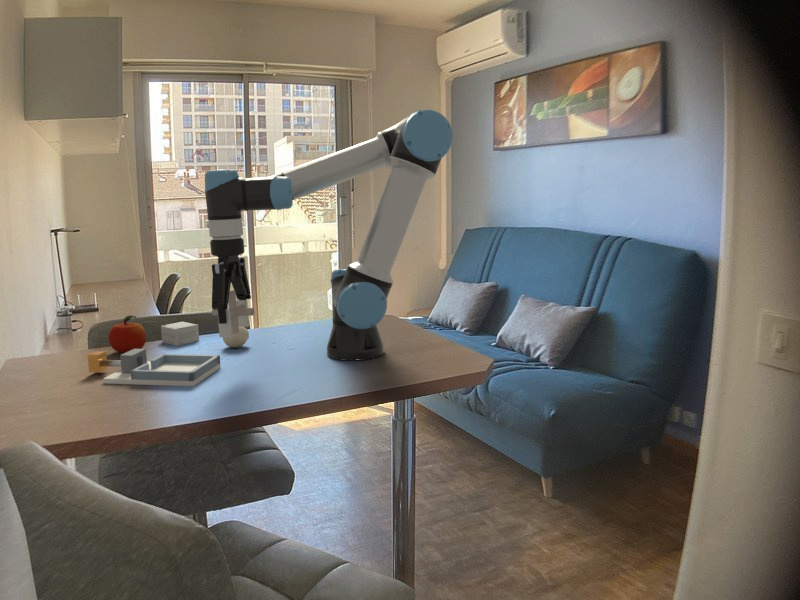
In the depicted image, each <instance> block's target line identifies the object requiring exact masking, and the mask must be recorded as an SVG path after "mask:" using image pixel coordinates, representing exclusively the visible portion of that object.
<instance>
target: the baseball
mask: <svg viewBox="0 0 800 600" xmlns="http://www.w3.org/2000/svg"><path fill="white" fill-rule="evenodd" d="M249 338H250V333H249V330H248V329H247V328H246V326H240V327H239V333H235V334H232V337H222V340H223V343H224V344H225V345H226V346H228V347H229V348H235V349H237V348H240V347H243V346H244V345H245V344H246V343H247V341H248V340H249Z"/></svg>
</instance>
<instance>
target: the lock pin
mask: <svg viewBox="0 0 800 600" xmlns="http://www.w3.org/2000/svg"><path fill="white" fill-rule="evenodd" d="M87 362H88V363H87V364H88V371H89V372H88V373H97V374H98V373H99V374H101V373H102V372H105V371H106V370H108V369H109V367H110V368H121V359H119V360H118V359H114V360H113V359H108V357H107V352H106V351H101V350H100V351H97V350H96V351H93V352H91V353H88V354H87Z"/></svg>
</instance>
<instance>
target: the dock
mask: <svg viewBox="0 0 800 600" xmlns="http://www.w3.org/2000/svg"><path fill="white" fill-rule="evenodd" d="M119 356H120V359H119V360H121V367H120V369H119V370H117V371H115V372H113V373H111V374H109V375H107V376H106V377H103V378H102V381H103V384H108V385H109V384H111V385H138V386H139V385H143V386H147V385H149V386H170V387H171V386H172V387H174V386H176V387H178V386H179V387H194V386H196V385H198V384H199V383H200V382H203V380H206V378H208V377H209V376H211V375H212V374H213V373H215V372H217V371H218V370H219V369H221V367H222V366H221V355H219V354H214V355H213V354H186V353H185V354H179V353H178V354H175V353H173V354H172V353H162V354H161V355H158V356H156V357H154V358H153V359H151V360H147V349H146V348H142V349H133V350H130V351H128V352H126V353H124V354H122V353H121V354H120V355H119Z"/></svg>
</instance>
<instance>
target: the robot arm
mask: <svg viewBox="0 0 800 600" xmlns="http://www.w3.org/2000/svg"><path fill="white" fill-rule="evenodd" d="M453 138H454V137H453V129H452V127H451V124H450V122H449V121H448V119H447V117H445V116H444V115H443V114H442V113H440V112H439V111H436V110H433V109H418V110H416V111H413V112H412V113H411V114H409V115H408V116H406V117H405V118H404V119H402V120H401V121H399V122H398V123H396V124H394V125H392V126H390V127H389V128H387V129H385V130H380V131H379V132H377V134H376V136H375V137H374V138H371V139H368V140H367V141H364V142H363V141H362V142H360V143H358V144H355V145H353V146H350V147H347V148H345V149H342V150H338V151H336V152H333V153H330V154H328V155H325V156H322V157H319V158H316V159H313V160H311V161H308V162H305V163H303V164H300V165H297V166H294V167H291V168H289V169H286V170H283V171H282V172H278V173H275V174H273V175H270V176H261V177H259V176H257V177H240V175H239V173H238V170H236V169H212V170H211V169H210V170H207V171H206V172H205V173H204V196H205V203H206V211H207V212H206V213H207V221H208V224H207V225H206V226H207V228H208V230H209V233H208V234H209V237H211V238H212V239H210V241H209V244H210V253H211V255H212V256H214V257H217V258H218V259H217V263H213V264H212V265H211V272H212V273H211V274H212V286H211V288H212V290H211V310H212V309H213V310H217V314H218V315H217V323H218V330H219V331H218V332H219V333H218V334H219V338H223V337H232V328H231V317H230V309H227V308H229V304H228V301H229V293H230V291H231V285H232V288H233V291H235V293H236V304H237V306H239V305H242V304H243V305H245V306H246V308H249V307H248V306H249V305H248V300H251V298H252V295H251V289H250V283H249V280H248V279H249V278H248V274H247V269H246V259H245V257H242V256H241V257H239V255H242V254H244V253H245V242H244V241H245V239H244V238H243V237H242V236H243V235H244V228H243V219H242V212H248V211H272V210H277V211H280V210H287V209H291V208H292V207H293V205H294V204H293V202H294V201H295V200H297V199H300V198H303V197H306V196H308V195H311V194H314V193H316V192H319V191H323V190H325V189H328V188H331V187H333V186H336V185H339V184H341V183H344V182H347V181H349V180H353V179H355V178H358V177H361V176H363V175H366V174H369V173H371V172H374V171H376V170H380V169H383V168H388V169H390V174H389V176H388V179H387V181H386V184H385V187H384V189H383V191H382V195H381V196H380V200H379V203H378V205H377V208H376V209H375V212H374V215H373V217H372V221H371V224H370V225H369V228H368V231H367V234H366V235H365V239H364V241H363V244H362V247H361V250H360V252H359V254H358V257H357V260H355V261H354V262H351V263H350V264H347V265H348V266H347V268H346V269H345V268H343V269H341V268H340V269H333V270H332V271H331V278H330V284H331V305H332V306H331V307H332V308H331V309H332V312H331V313H332V328H331V332H330V334H329V338H328V342H327V345H326V354H327V356H328V357H329V356H330V357H329V358H331V357H333V358H332V359H334V358H337V359H336V360H339V359H345V360H344V361H357V360H356V359H366V360H369V359H368V358H372V357H376V356H378V357H380V356H379V355H381V354H382V353H383V354H384V343H383V340H382V337H381V334H380V332H379V328H378V326H377V325H378V324H380V322H382V320H383V318H384V317H385V316H386V312H387V308H388V300H387V299H388V297H389V294H390V291H391V289H392V286H393V284H394V281H393V278H392V275H391V272H392V269H393V268H394V267H393V266H394V264H395V262H396V259H397V256H398V254H399V251H400V249H401V246H402V243H403V241H404V238H405V235H406V233H407V230H408V228H409V226H410V223H411V221H412V218H413V215H414V213H415V210H416V208H417V205H418V202H419V200H420V197H421V195H422V192H423V191H424V190H423V189H424V187H425V185H426V182H427V181H428V180H429V179H432V178H434V177H435V176H436V173H437V171H438V169H439V166H440V164H441V161H442V158H444V157H445V156H446V155H447V153H448V152H449V150H450V149H451V146H452V144H453ZM249 317H250V316H238V326H239V327H240V326H244V327H249V326H250V319H249ZM383 354H382V355H383ZM382 355H381V356H382ZM376 358H377V357H376ZM372 359H373V358H372Z"/></svg>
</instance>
